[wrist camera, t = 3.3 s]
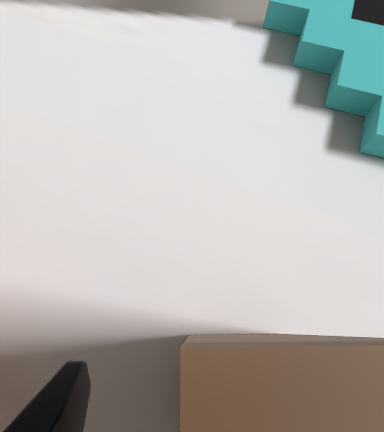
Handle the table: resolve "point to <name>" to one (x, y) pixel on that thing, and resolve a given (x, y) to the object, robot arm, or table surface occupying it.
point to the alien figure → (341, 55)
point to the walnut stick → (281, 383)
